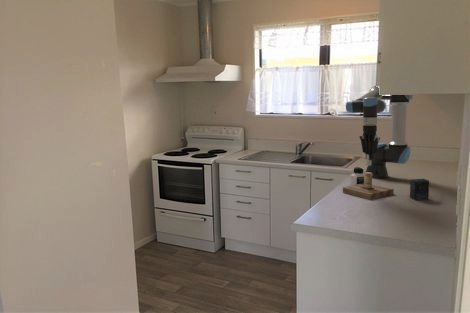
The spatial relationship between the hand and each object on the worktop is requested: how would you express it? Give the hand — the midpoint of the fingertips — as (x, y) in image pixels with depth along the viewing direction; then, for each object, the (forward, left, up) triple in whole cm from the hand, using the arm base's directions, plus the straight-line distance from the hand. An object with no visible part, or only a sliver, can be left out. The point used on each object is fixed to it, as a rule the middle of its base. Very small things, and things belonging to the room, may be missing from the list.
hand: (368, 165), depth 225 cm
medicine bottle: (-9, -15, -17) cm, 24 cm away
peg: (0, 0, -17) cm, 17 cm away
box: (-13, +24, -17) cm, 32 cm away
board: (0, 0, -17) cm, 17 cm away
